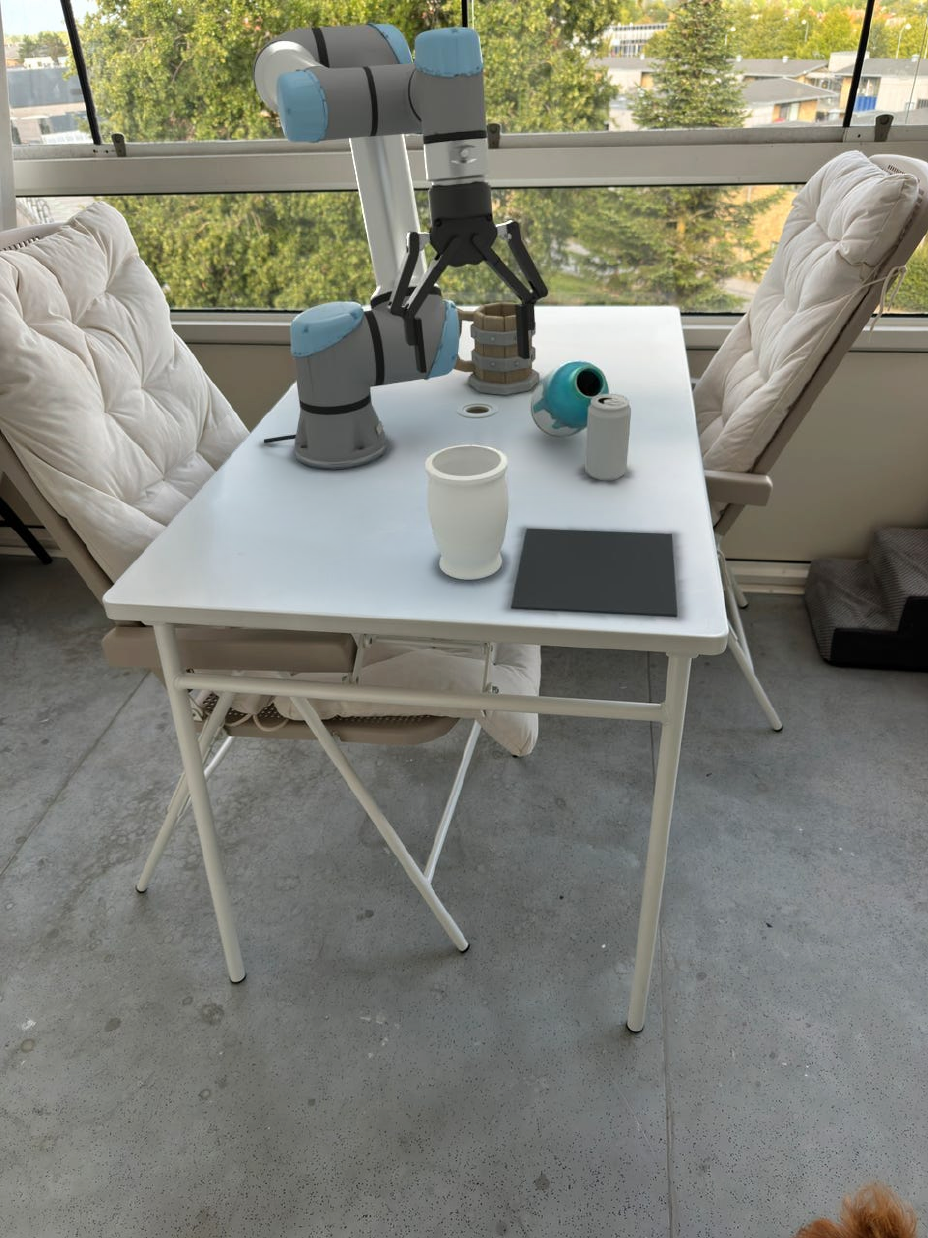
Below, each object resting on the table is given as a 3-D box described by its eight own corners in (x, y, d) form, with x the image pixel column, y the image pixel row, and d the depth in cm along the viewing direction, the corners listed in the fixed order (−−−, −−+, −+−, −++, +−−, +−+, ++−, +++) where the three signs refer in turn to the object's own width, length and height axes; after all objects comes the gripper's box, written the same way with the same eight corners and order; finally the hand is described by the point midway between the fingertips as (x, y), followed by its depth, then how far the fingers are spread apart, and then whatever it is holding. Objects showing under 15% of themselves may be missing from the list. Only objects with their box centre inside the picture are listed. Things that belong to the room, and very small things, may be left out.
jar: (502, 588, 119) (500, 481, 110) (423, 582, 121) (415, 476, 112) (515, 547, 127) (514, 444, 119) (441, 542, 129) (435, 441, 121)
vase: (584, 383, 160) (624, 350, 141) (582, 444, 160) (623, 419, 141) (524, 378, 158) (557, 344, 139) (522, 440, 158) (555, 414, 139)
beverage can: (599, 459, 149) (603, 388, 141) (634, 470, 145) (640, 398, 138) (576, 475, 145) (579, 402, 138) (612, 486, 141) (617, 412, 134)
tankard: (545, 374, 183) (545, 296, 174) (524, 397, 173) (524, 316, 165) (450, 366, 189) (446, 290, 181) (426, 387, 180) (420, 308, 171)
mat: (511, 608, 115) (511, 606, 115) (526, 530, 131) (526, 528, 131) (676, 616, 112) (677, 614, 112) (671, 535, 128) (671, 533, 128)
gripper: (359, 192, 105) (382, 382, 114) (568, 171, 109) (575, 355, 119) (350, 192, 111) (373, 372, 121) (548, 173, 116) (555, 347, 125)
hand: (473, 364), depth 120 cm, fingers open, 13 cm apart
